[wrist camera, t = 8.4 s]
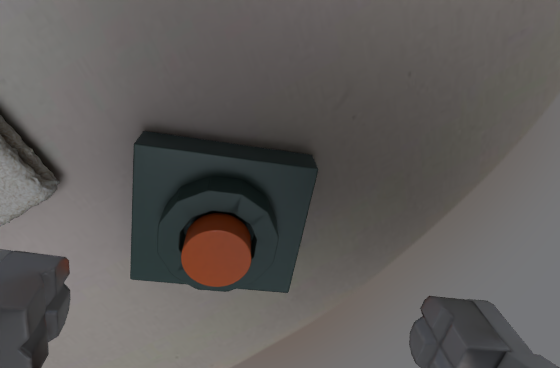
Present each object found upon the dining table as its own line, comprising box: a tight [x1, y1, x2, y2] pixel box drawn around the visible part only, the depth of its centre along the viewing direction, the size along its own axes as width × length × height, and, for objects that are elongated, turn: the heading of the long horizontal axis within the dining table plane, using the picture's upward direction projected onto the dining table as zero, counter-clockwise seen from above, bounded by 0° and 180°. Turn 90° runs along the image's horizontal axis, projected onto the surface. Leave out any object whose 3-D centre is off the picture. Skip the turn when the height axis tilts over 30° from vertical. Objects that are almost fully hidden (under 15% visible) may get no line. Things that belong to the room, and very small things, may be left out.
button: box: [181, 213, 252, 287], centre depth 21 cm, size 4×4×2 cm
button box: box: [130, 131, 318, 293], centre depth 23 cm, size 10×9×4 cm
